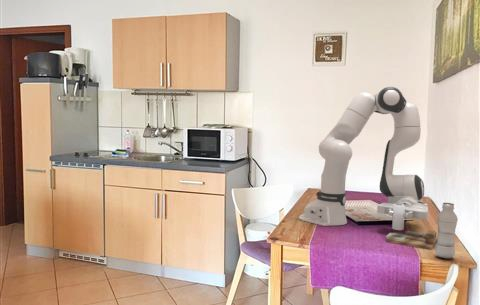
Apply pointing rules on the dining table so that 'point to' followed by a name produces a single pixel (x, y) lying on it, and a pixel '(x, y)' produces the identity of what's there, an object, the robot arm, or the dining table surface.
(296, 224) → the dining table surface
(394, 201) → the lumpy-topped squat cylinder
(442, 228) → the plastic bottle
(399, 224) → the spacer sleeve
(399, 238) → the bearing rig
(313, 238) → the dining table surface
